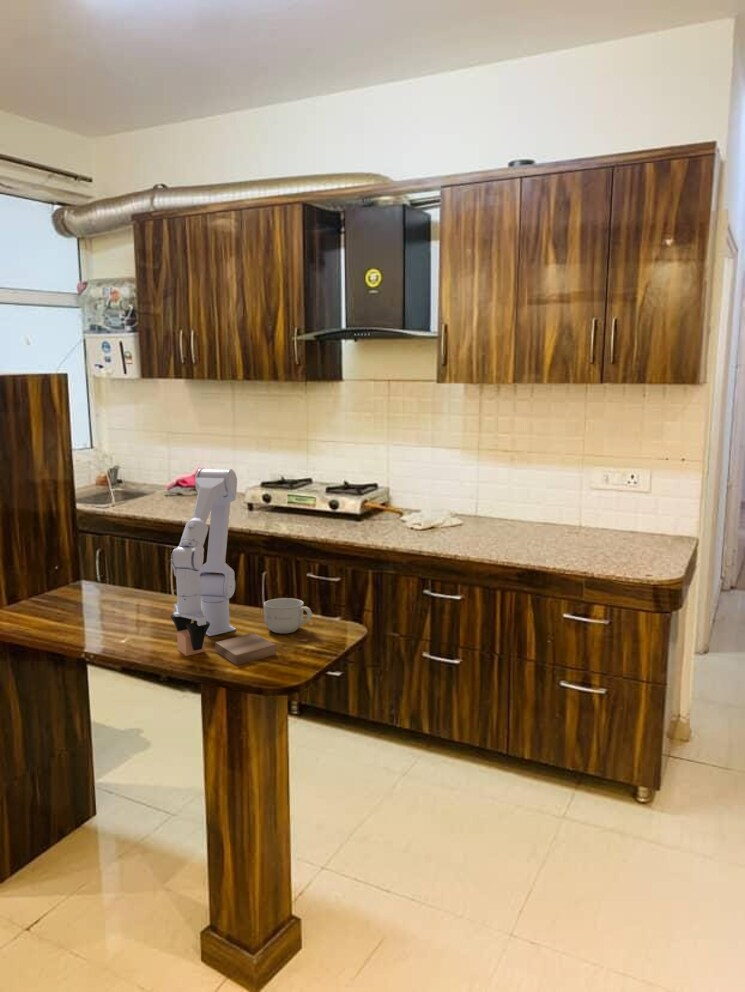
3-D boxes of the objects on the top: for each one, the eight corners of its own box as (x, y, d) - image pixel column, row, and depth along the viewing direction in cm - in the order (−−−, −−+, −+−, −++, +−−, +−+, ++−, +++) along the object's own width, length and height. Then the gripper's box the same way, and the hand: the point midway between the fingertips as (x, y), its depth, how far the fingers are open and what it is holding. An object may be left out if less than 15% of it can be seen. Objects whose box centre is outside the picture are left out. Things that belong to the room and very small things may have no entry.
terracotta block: (177, 650, 192) (177, 631, 191) (196, 646, 195) (195, 627, 194) (186, 656, 188) (185, 637, 187) (204, 651, 191) (204, 632, 190)
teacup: (256, 631, 205) (255, 603, 204) (284, 620, 214) (283, 593, 213) (293, 642, 197) (292, 613, 196) (321, 631, 205) (320, 603, 204)
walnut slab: (215, 653, 191) (215, 642, 190) (254, 643, 197) (253, 632, 197) (236, 667, 182) (236, 655, 182) (275, 656, 189) (275, 644, 188)
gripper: (161, 589, 192) (164, 640, 194) (186, 603, 181) (188, 657, 183) (187, 584, 196) (189, 634, 199) (213, 598, 185) (215, 650, 187)
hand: (191, 645), depth 191 cm, fingers open, 7 cm apart
